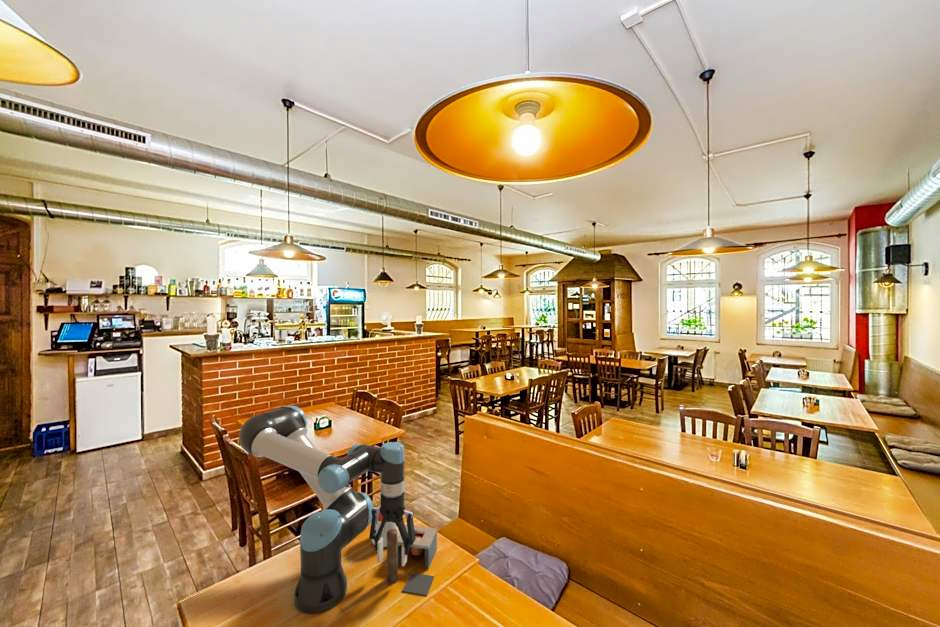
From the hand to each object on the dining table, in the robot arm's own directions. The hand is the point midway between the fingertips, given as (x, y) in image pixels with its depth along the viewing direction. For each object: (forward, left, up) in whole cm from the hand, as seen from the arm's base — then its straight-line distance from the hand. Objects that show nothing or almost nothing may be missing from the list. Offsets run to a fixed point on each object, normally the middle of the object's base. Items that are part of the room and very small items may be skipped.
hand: (392, 561), depth 122 cm
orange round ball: (+4, +12, -4) cm, 13 cm away
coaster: (+9, 0, -6) cm, 11 cm away
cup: (-11, +18, -6) cm, 22 cm away
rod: (0, 0, -6) cm, 6 cm away
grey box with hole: (+4, +12, -6) cm, 14 cm away
